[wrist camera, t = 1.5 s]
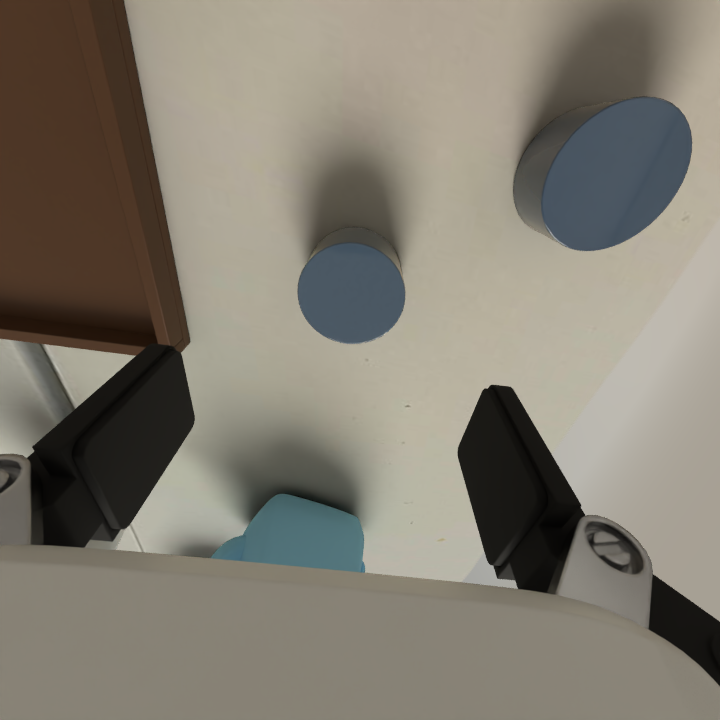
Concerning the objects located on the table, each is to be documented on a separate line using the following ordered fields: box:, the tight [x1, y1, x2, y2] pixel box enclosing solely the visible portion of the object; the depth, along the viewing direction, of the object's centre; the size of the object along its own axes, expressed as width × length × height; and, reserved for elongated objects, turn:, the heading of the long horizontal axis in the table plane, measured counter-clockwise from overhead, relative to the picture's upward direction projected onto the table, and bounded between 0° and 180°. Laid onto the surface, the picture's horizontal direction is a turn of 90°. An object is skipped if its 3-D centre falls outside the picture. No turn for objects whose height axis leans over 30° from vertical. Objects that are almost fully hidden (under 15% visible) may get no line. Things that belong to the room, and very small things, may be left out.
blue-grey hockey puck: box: [513, 96, 692, 251], centre depth 15 cm, size 6×6×4 cm
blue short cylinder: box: [298, 227, 405, 344], centre depth 18 cm, size 6×6×4 cm
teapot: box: [211, 494, 365, 573], centre depth 30 cm, size 12×18×11 cm
